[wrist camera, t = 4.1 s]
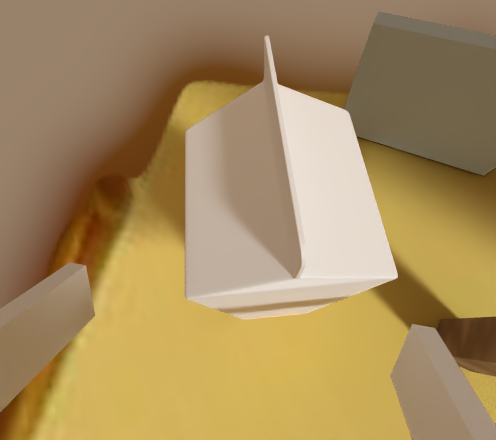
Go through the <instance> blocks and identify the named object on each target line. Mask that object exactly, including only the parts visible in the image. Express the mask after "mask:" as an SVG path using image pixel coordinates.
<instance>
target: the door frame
mask: <svg viewBox="0 0 496 440" xmlns="http://www.w3.org/2000/svg"><path fill="white" fill-rule="evenodd" d="M437 332H438V334H439V335H440V337H441V339H442V340H443V342H444V343H445V345H446V347H447V348H448V350H449V351H450V353H451V355H452V356H453V358H454V359H455V361H456V363H457V364H458V366H461V367H463V368H465V369H467V370H469V371H472V372H477V373H481V374H486V375H491V376H496V317H481V318H462V319H442V320H440V322H439V326H438V331H437Z"/></svg>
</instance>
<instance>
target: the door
mask: <svg viewBox="0 0 496 440" xmlns="http://www.w3.org/2000/svg"><path fill="white" fill-rule="evenodd" d="M344 110H346V111H348V112H349V114H350V117H351V121H352V124H353V127H354V131H355V134H356V136H358V137H361V138H364V139H367V140H370V141H374V142H377V143H380V144H383V145H386V146H390V147H393V148H396V149H399V150H402V151H406V152H409V153H412V154H415V155H418V156H422V157H425V158H428V159H431V160H434V161H438V162H441V163H444V164H447V165H450V166H454V167H457V168H460V169H463V170H466V171H470V172H473V173H476V174H479V175H482V176H484V175H486V174H487V173H488V172H490V171H491V170H493V169H494V168H496V35H490V34H485V33H481V32H476V31H471V30H466V29H461V28H457V27H452V26H446V25H442V24H437V23H432V22H427V21H422V20H417V19H412V18H408V17H402V16H398V15H393V14H388V13H383V12H378V14H377V16H376V19H375V21H374V23H373V26H372V28H371V32H370V34H369V37H368V40H367V43H366V46H365V49H364V52H363V55H362V57H361V61H360V64H359V66H358V69H357V72H356V75H355V78H354V81H353V83H352V87H351V89H350V92H349V95H348V98H347V101H346V104H345V107H344Z"/></svg>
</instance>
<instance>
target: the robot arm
mask: <svg viewBox="0 0 496 440" xmlns="http://www.w3.org/2000/svg"><path fill="white" fill-rule="evenodd" d="M94 316H95V312H94V306H93V301H92V296H91V290H90V285H89V280H88V275H87V269H86V265H81V264H75V263H68V264H67V265H65V266H64V267H62V268H61V269H59V270H58V271H56V272H55V273H53V274H52V275H50V276H49V277H47V278H46V279H44V280H43V281H41V282H40V283H38V284H37V285H35V286H34V287H32V288H31V289H30V290H28V291H26V292H25V293H24V294H22V295H21V296H19V297H18V298H16V299H15V300H13V301H12V302H10V303H9V304H7V305H6V306H4V307H3V308H1V309H0V412H1V411H2V410H3V409H4V408H5V407H6V406H7V405H8V404H9V403H10V402H11V401H12V400H13V399H14V397H15V396H16V395H17V394H18V393H19V392H20V391H21V390H22V389H23V388H24V387H25V386H26V385H27V384H28V383H29V382H30V381H31V380H32V379H33V378H34V377H35V376H36V375H37V374H38V373H39V372H40V371H41V370H42V369H43V368H44V367H45V366H46V365H47V364H48V363H49V362H50V361H51V360H52V359H53V358H54V357H55V356H56V355H57V354H58V353H59V352H60V351H61V350H62V349H63V348H64V347H65V346H66V345H67V344H68V343H69V342H70V341H71V340H72V339H73V338H74V337H75V336H76V335H77V334H78V333H79V331H80V330H81V329H82V328H83V327H84V326H85V325H86V324H87V323H88V322H89V321H90V320H91V319H92V318H93V317H94ZM390 376H391V379H392V382H393V385H394V388H395V391H396V394H397V397H398V400H399V402H400V405H401V408H402V411H403V414H404V417H405V420H406V423H407V426H408V429H409V431H410V434H411V437H412V440H496V425H495V423H494V422H493V420H492V419H491V417H490V415H489V414H488V412H487V411H486V409H485V407H484V406H483V404H482V403H481V401H480V399H479V398H478V396H477V395H476V393H475V391H474V390H473V388H472V387H471V385H470V383H469V382H468V380H467V379H466V377H465V375H464V374H463V372H462V371H461V369H460V367H459V366H458V364H457V363H456V361H455V359H454V358H453V356H452V355H451V353H450V351H449V350H448V348H447V347H446V345H445V343H444V342H443V340H442V339H441V337H440V335H439V334H438V332H437V331H436V329H435V328H433V327H427V326H422V325H416V324H412V326H411V328H410V330H409V333H408V335H407V337H406V340H405V342H404V345H403V347H402V349H401V352H400V354H399V356H398V359H397V361H396V363H395V366H394V368H393V371H392V373H391V375H390Z"/></svg>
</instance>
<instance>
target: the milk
mask: <svg viewBox="0 0 496 440" xmlns="http://www.w3.org/2000/svg"><path fill="white" fill-rule="evenodd" d="M396 278H398V274H397V270H396V267H395V263H394V260H393V257H392V253H391V250H390V247H389V243H388V240H387V237H386V233H385V230H384V227H383V223H382V220H381V217H380V214H379V210H378V207H377V204H376V200H375V197H374V194H373V190H372V187H371V184H370V180H369V177H368V174H367V170H366V167H365V164H364V160H363V157H362V154H361V151H360V147H359V144H358V141H357V137H356V134H355V131H354V127H353V124H352V121H351V117H350V114H349V112H348V111H346V110H344V109H342V108H339V107H337V106H334V105H331V104H329V103H326V102H324V101H321V100H318V99H316V98H313V97H310V96H308V95H305V94H303V93H300V92H297V91H295V90H292V89H290V88H287V87H284V86H282V85H279V84H278V83H277V77H276V72H275V66H274V61H273V55H272V49H271V44H270V39H269V36H268V35H266V36H264V80H263V81H262V82H261V83H259V84H258V85H256V86H255V87H253V88H252V89H250V90H248V91H247V92H245V93H244V94H242V95H241V96H239V97H237V98H236V99H234V100H233V101H231V102H230V103H228V104H226V105H225V106H223V107H222V108H220V109H219V110H217V111H215V112H214V113H212V114H211V115H209V116H208V117H206V118H204V119H203V120H201V121H200V122H198V123H197V124H195V125H193V126H192V127H190V128H189V129H188V130H187V131H186V133H185V298H186V299H188V300H190V301H193V302H196V303H199V304H201V305H204V306H207V307H210V308H213V309H215V310H218V311H221V312H224V313H227V314H229V315H232V316H235V317H238V318H241V319H244V320H245V319H255V318H266V317H276V316H286V315H297V314H306V313H309V312H311V311H314V310H317V309H319V308H322V307H324V306H327V305H330V304H332V303H335V302H337V301H340V300H342V299H345V298H348V297H350V296H353V295H355V294H358V293H361V292H363V291H366V290H368V289H371V288H373V287H376V286H379V285H381V284H384V283H386V282H389V281H392V280H394V279H396Z"/></svg>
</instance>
